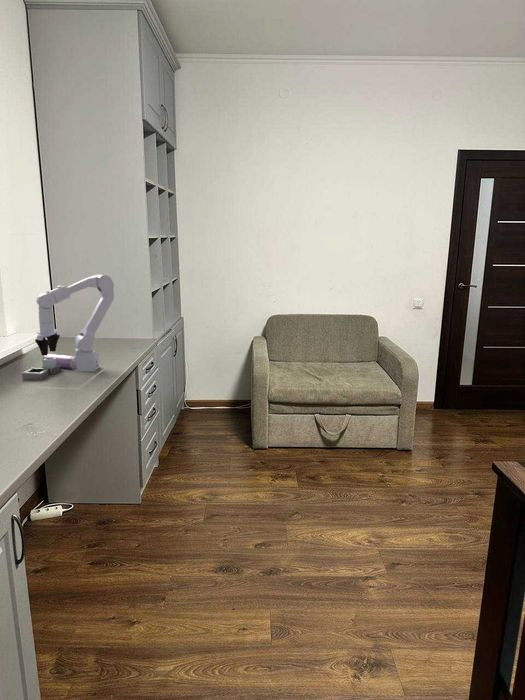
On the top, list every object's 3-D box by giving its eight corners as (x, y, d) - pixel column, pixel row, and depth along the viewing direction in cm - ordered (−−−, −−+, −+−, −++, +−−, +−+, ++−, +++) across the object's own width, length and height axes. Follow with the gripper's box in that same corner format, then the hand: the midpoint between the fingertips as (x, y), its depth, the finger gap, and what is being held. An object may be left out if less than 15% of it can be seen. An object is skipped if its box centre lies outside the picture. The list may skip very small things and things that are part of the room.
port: (50, 376, 205) (50, 367, 204) (41, 381, 197) (41, 372, 196) (32, 375, 205) (31, 367, 204) (22, 381, 197) (21, 372, 197)
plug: (56, 371, 211) (55, 356, 209) (52, 373, 207) (51, 358, 205) (47, 371, 211) (46, 356, 209) (43, 373, 207) (42, 358, 206)
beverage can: (41, 368, 217) (71, 371, 214) (40, 355, 216) (70, 358, 213) (50, 364, 223) (79, 367, 220) (49, 352, 222) (78, 354, 218)
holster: (61, 371, 212) (60, 365, 212) (54, 376, 206) (53, 369, 205) (46, 371, 213) (46, 364, 212) (39, 375, 206) (38, 368, 205)
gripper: (45, 319, 211) (47, 349, 214) (28, 324, 197) (31, 356, 200) (61, 319, 211) (63, 349, 214) (45, 325, 197) (48, 357, 200)
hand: (48, 353), depth 207 cm, fingers open, 7 cm apart
